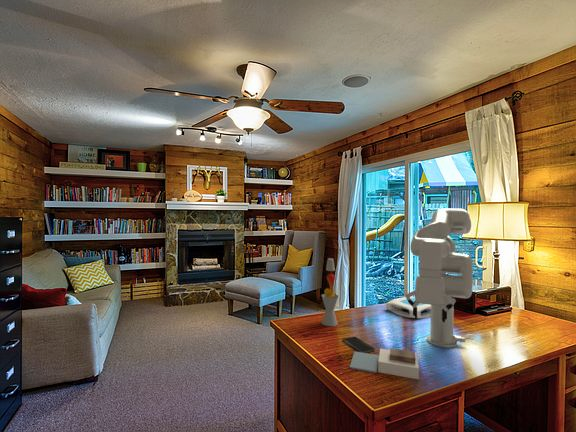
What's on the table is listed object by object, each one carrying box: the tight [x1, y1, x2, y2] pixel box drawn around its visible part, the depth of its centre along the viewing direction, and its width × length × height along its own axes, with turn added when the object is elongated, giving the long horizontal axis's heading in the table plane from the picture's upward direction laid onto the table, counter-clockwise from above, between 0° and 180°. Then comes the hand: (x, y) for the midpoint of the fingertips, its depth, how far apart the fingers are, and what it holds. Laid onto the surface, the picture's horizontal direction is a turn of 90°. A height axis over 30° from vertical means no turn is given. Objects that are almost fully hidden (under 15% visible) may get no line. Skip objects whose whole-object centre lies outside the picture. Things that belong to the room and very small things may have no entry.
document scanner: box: [385, 296, 431, 319], centre depth 188 cm, size 21×28×6 cm
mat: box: [349, 351, 379, 374], centre depth 122 cm, size 10×14×1 cm
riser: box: [377, 348, 420, 380], centre depth 118 cm, size 14×12×4 cm
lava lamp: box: [321, 257, 339, 327], centre depth 165 cm, size 9×9×35 cm
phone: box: [342, 336, 375, 354], centre depth 138 cm, size 8×1×15 cm
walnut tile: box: [389, 347, 416, 364], centre depth 117 cm, size 9×6×2 cm, turn 70°
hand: (429, 319), depth 114 cm, fingers open, 9 cm apart
